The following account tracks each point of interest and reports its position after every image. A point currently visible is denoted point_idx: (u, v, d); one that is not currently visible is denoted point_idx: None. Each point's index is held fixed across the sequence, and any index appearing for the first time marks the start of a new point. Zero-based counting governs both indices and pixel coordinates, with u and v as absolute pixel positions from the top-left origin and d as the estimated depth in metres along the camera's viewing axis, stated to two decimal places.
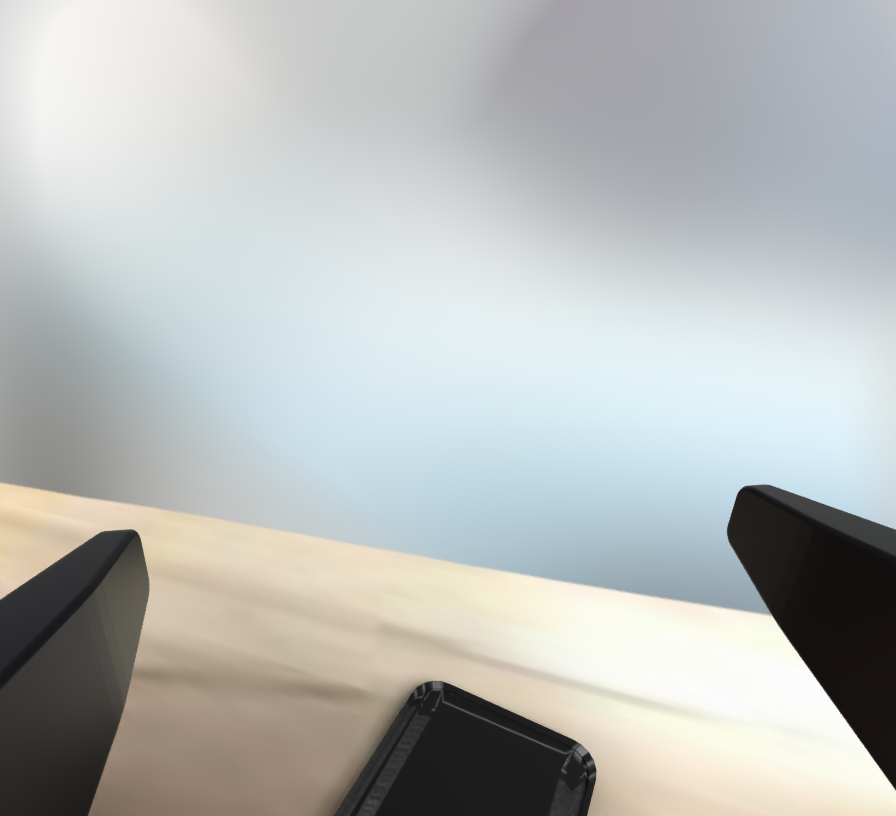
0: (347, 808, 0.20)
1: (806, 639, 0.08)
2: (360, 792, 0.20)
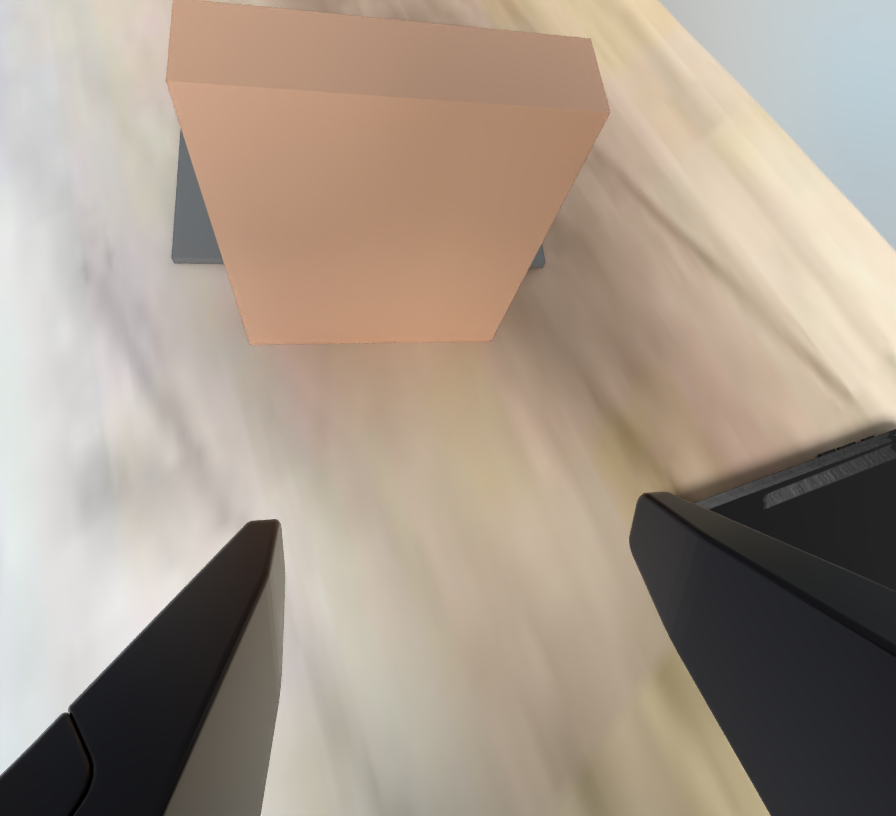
0: (813, 465, 0.25)
1: (693, 654, 0.08)
2: (825, 463, 0.25)
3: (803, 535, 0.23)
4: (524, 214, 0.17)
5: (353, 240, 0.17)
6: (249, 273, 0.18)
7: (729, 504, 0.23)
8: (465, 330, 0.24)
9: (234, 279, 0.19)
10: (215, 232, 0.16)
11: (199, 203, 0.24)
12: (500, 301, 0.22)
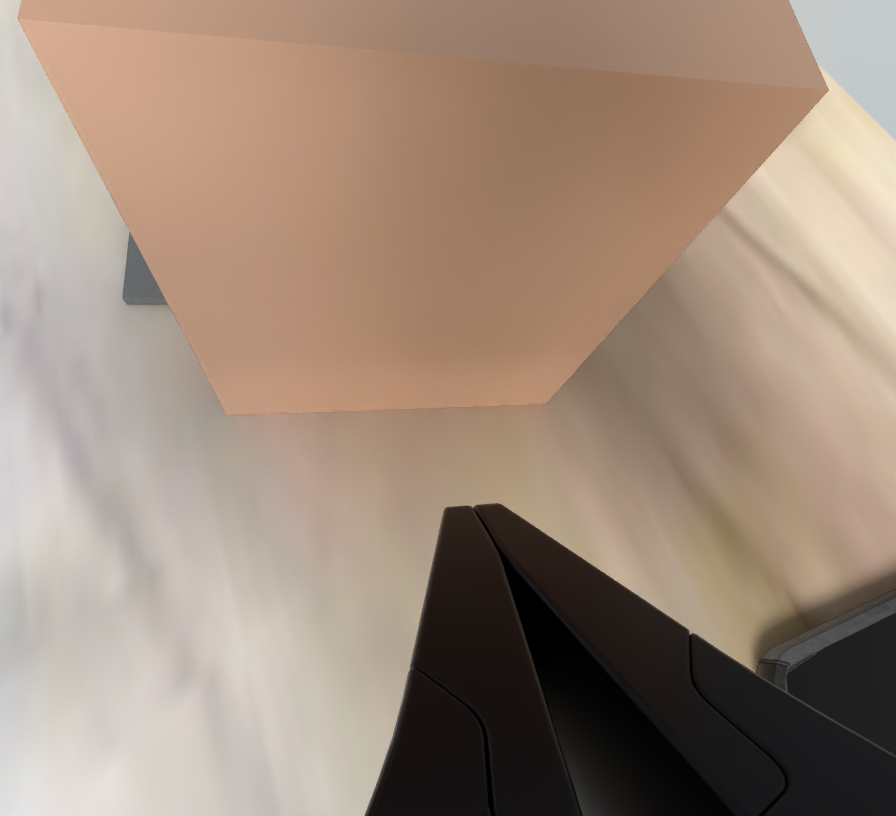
0: None
1: None
2: None
3: None
4: (634, 253, 0.11)
5: (371, 291, 0.12)
6: (217, 335, 0.13)
7: (871, 629, 0.17)
8: (515, 393, 0.18)
9: (196, 343, 0.13)
10: (158, 283, 0.11)
11: None
12: (569, 361, 0.16)
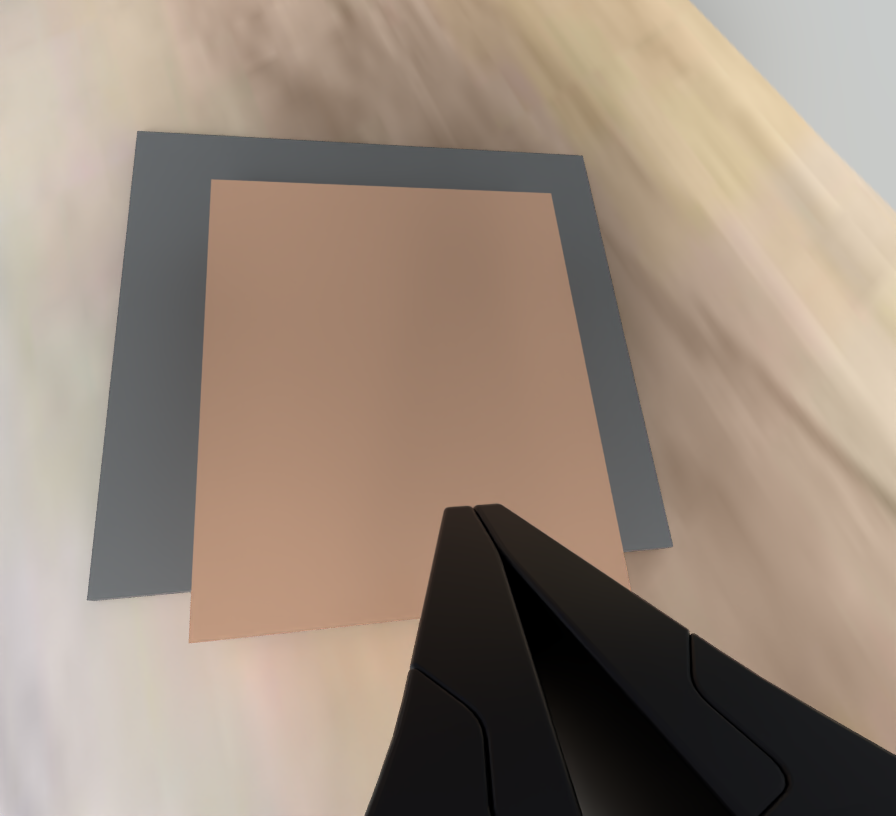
0: None
1: None
2: None
3: None
4: (539, 298, 0.16)
5: (364, 345, 0.15)
6: (229, 415, 0.14)
7: None
8: None
9: (206, 429, 0.13)
10: (205, 337, 0.14)
11: (138, 488, 0.15)
12: (590, 464, 0.15)
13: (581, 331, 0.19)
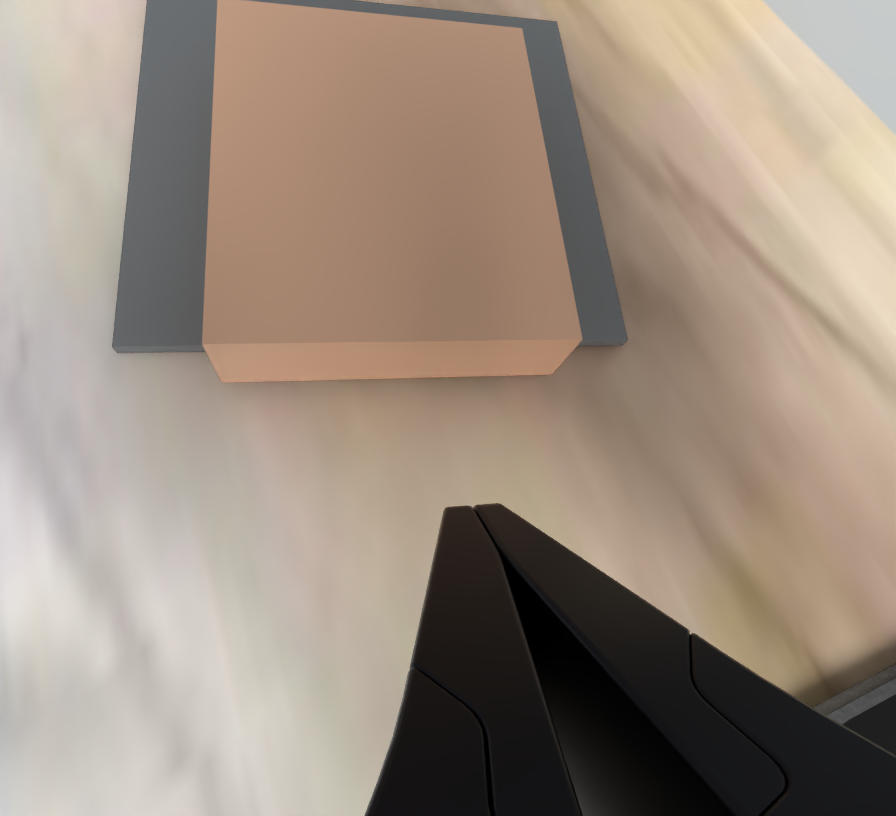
0: None
1: None
2: None
3: None
4: (509, 110, 0.18)
5: (352, 135, 0.17)
6: (235, 180, 0.16)
7: None
8: (532, 307, 0.16)
9: (215, 189, 0.16)
10: (213, 120, 0.16)
11: (154, 264, 0.17)
12: (549, 240, 0.17)
13: (551, 165, 0.21)
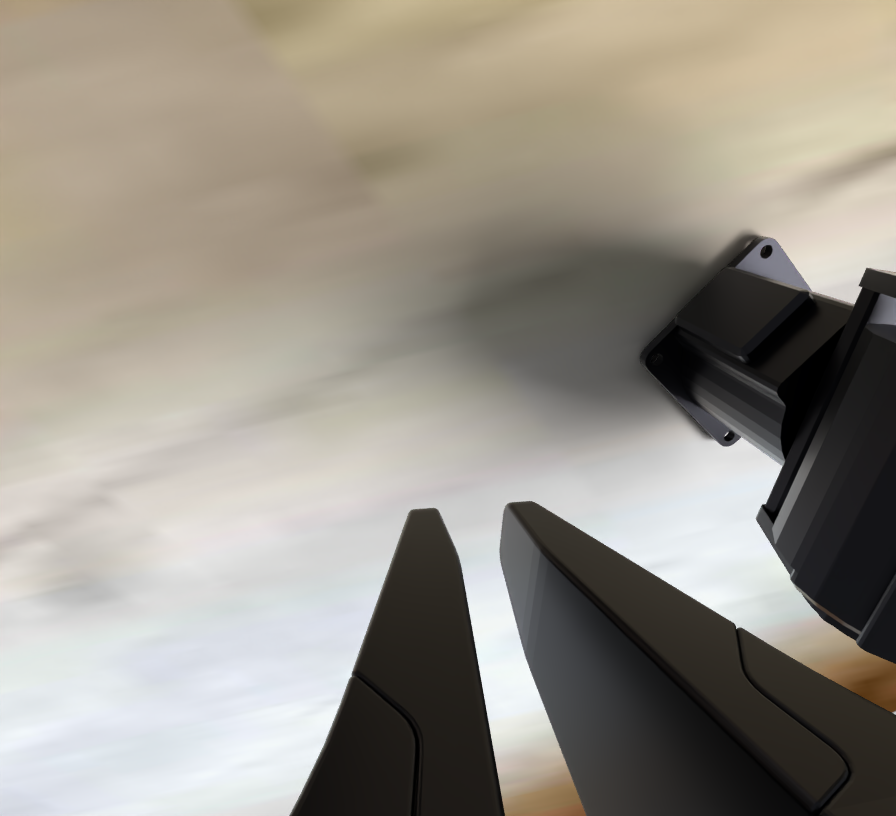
0: None
1: (541, 674, 0.07)
2: None
3: None
4: None
5: None
6: None
7: None
8: None
9: None
10: None
11: None
12: None
13: None
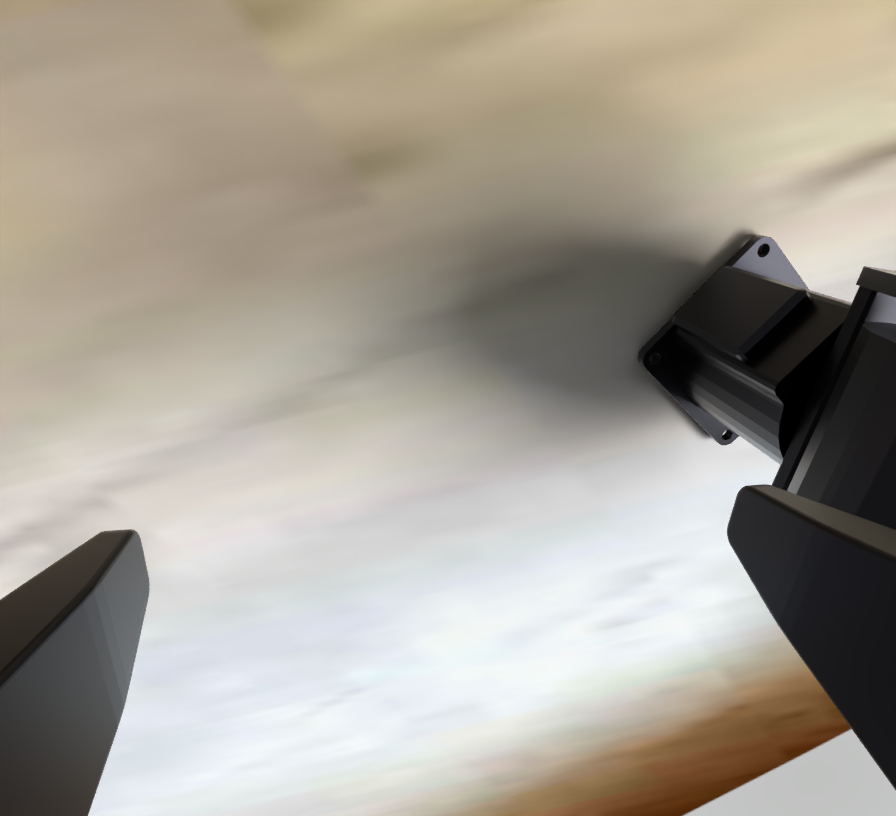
0: None
1: (806, 639, 0.08)
2: None
3: None
4: None
5: None
6: None
7: None
8: None
9: None
10: None
11: None
12: None
13: None
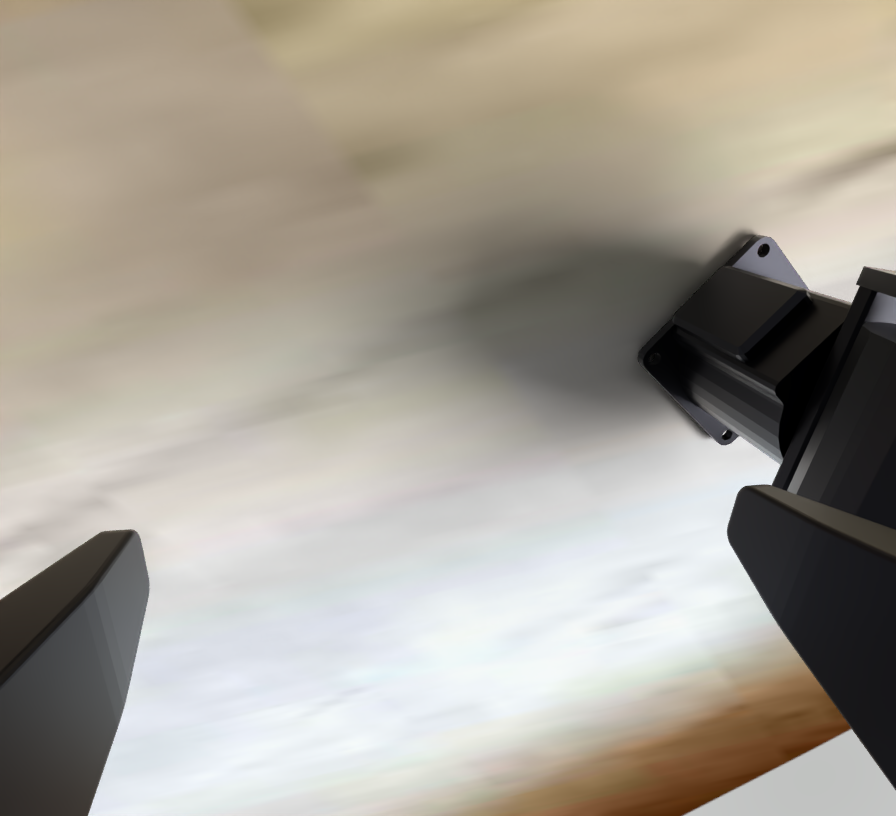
0: None
1: (806, 639, 0.08)
2: None
3: None
4: None
5: None
6: None
7: None
8: None
9: None
10: None
11: None
12: None
13: None
